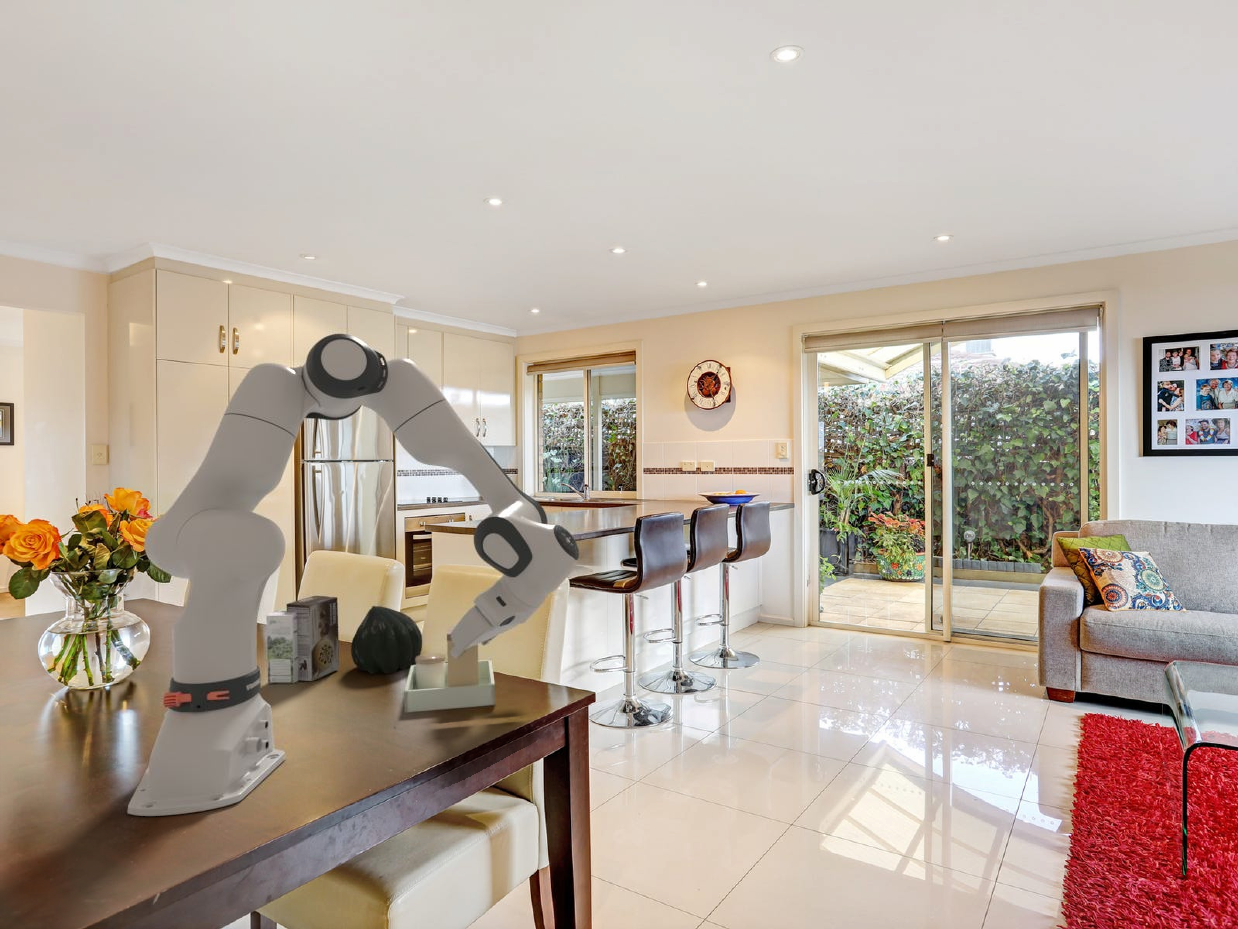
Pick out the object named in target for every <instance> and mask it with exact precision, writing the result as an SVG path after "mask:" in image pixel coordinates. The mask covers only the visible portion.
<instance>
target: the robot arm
mask: <svg viewBox="0 0 1238 929" xmlns="http://www.w3.org/2000/svg"><path fill="white" fill-rule="evenodd" d="M381 359H382V360H383V361H382V360H381ZM361 407H365V408H368V409H370V410H372V411H374V412H375V413H376V414H377V415H378V416H380V418H382V419H383V420H384V422H385V424H386V425H387V427H388V429H389V430H390V431H391V433H392V434H393V435H394V437H395V438H396V440H397V442H398V443H399V445H401V447H402V448H403V449H404V450H405V451H406V452H407V454H409V455H410V456H411V458H413V459H414V460H415V461H416V462H419V463H420V464H423V465H427V466H432V467H433V466H435V467H441V468H445V469H446V468H447V469H450V470H454V471H456V472H457V473H459V474H461V475H462V476H464V477H465V479H466V480H467V481H468V482H469V483H470V484H471V486H473V488H474V489H475V490H476V491H477V493H478V494H479V495H480V496H481V497H482V499H483V500H484V501H485V502H486V503H487V505H488V506H489V507H490V509H491V510H490V511H491V513H490V514H488V516H486V517H485V518H484V519H483V520H481V521H480V522H479V523H478V525H477V526H476V528H475V530H474V533H473V546H474V548H475V552H477V554H478V556H479V557H480V558H481V560H483V562H485V563H486V564H488V565H489V566H491V567H492V568H493V569H495V570H496V571H498V572H499V573H501V574H502V576H501V577H500V578H499V579H498V580H497V581H496V582H494V584H493V585H492V586H491V587H489V588H487V589H486V590H484V591H483V592H481V593H479V594H478V595H476V597H475V598H474V600H473V603H474V605H472V607H471V608H469V609H468V610H467V612H466V613H465V614H464V615H463V617H461V619H460V620H459V621H458V622H457V624H456V625H455V626H454V627H455V628H454V629H453V631H452V632H451V635H450V638H451V640H452V641H453V642H454V644H455V647H454V648H453V649H452V650H451V655H452V656H453V657H454V658H458V657H460V656H462V654H464V653H465V650H466V649H468V648H470V647H472V646H475V645H477V644H478V645H479V644H481V645H482V646H486V645H489V644H490V643H491V642H492V641H493V640H494V639H495V638H496V637H498V636H499V635H501V634H503V633H505V632H507V631H510V630H512V629H514V628H516V627H517V626H519V625H522V624H525V623H526V622H528V620H529V619H531V617H532V616H533V615H534V614H535V613H536V611H538V610H539V609H540V607H541V606H542V605H543V604H544V602H545V600H546V598H547V597H548V595H550V594H551V593H553V592H555V591H556V590H557V589H558V588H559V587H560V586H561V585H562V584H563V582H565V581H566V579H567V578H568V577H569V576H570V574H571V573H572V571H573V570H574V568H575V567H576V566H577V563H578V561H579V557H580V551H579V550H580V549H579V547H578V544H577V540H576V539H575V538H574V537H573V535H572V533H571V532H569V531H568V529H566V528H565V527H563V526H562V525H559V524H548V517H547V512H546V511H545V509H544V507H543V506H542V505H541V504H540V502H538V501H537V500H536V499H534V498H533V497H531V495H528V494H526V493H525V492H524V491H522V490H521V488H519V487H518V485H516V484H515V482H514V481H513V480H512V479H511V478H510V477H509V476H508V474H507V472H505V471H504V469H503V468H502V467H501V466H500V464H499V463H498V462H497V461H496V459H495V458H494V457H493V456H492V455H491V453H490V452H489V450H487V449H486V447H485V446H484V445H483V444H482V442H480V441H479V440H478V438H477V437H476V436H475V435H474V434H473V433H472V432H471V430H469V428H468V427H467V425H465V423H464V421H463V420H462V419H461V418H460V416H459V415H458V413H457V412H456V411H455V409H454V408H453V407H452V405H451V403H450V402H449V401H448V399H447V398H446V397H445V395H444V394H443V392H442V391H441V390H440V389H439V388H438V386H437V385H436V384H435V382H434V381H433V380H432V379H431V378H430V377H429V376H428V375H427V373H425V371H423V370H422V369H421V367H420V366H418V365H417V363H415V362H414V361H412V360H411V359H409V358H402V357H400V358H394V359H393V358H392V359H390V360H388V361H387V360H386V357H385V356H384V355H383V354H382V353H381V352H378V351H377V350H375V349H373V348H371V347H370V346H369V345H368V344H367V343H365V342H364V341H362V340H361V339H359V338H357V337H355V336H354V335H350V334H347V333H346V334H345V333H334V334H330V335H327V336H324V337H322V338H320V339H319V340H318V341H317V342H315V344H314V345H313V346H312V348H310V350H309V352H308V353H307V356H306V360H305V363H304V364H303V365H300V366H298V367H297V366H296V367H291V366H290V367H289V366H287V365H283V364H279V363H275V362H263V363H259V364H257V365H254V366H253V367H252V368H251V369H250V370H249V371H248V373H246V374H245V376H244V377H243V379H242V380H241V382H240V383H239V385H238V386H237V388H236V390H235V391H234V394H233V395H232V397H231V398H230V400H229V402H228V404H227V406H226V408H225V411H224V413H223V416H222V418H221V420H220V422H219V425H218V427H217V430H216V432H215V434H214V437H213V439H212V441H211V443H210V445H209V448H208V450H207V453H206V455H205V457H204V459H203V461H202V463H201V465H200V466H199V468H198V469H197V471H196V472H195V473H194V475H193V476H192V477H191V480H190V481H188V484H187V485H186V486H185V488H184V489H183V490H182V492H181V493H180V495H179V496H177V498H176V500H175V501H174V503H173V504H172V505H171V507H170V508H169V509H168V510H167V511H165V513H164V514H162V515H161V516H159V517H158V518H157V519H156V520H154V522H153V523H151V525H150V526H149V528H148V529H147V531H146V534H145V537H144V550H145V554H146V556H147V558H148V559H149V561H150V562H151V563H152V564H153V565H154V566H155V567H156V568H158V569H159V570H161V571H163V572H164V573H166V574H168V575H170V576H173V577H174V578H179V579H185V580H189V590H188V596H187V599H186V602H185V606H184V609H183V612H182V613H181V615H180V616H179V618H177V619H176V621H175V622H174V624H173V627H172V668H173V669H172V671H173V672H172V673H173V675H172V676H173V677H172V678H171V679H170V682H169V687H168V691H167V692H165V693H164V695H163V699H162V700H163V701H162V703H163V704H162V706H163V707H164V708H166V709H167V708H168V710H167V711H166V712H165V713H164V718H163V720H162V723H161V726H160V728H159V731H158V733H157V736H156V740H155V742H154V745H153V747H152V751H151V753H150V757H149V759H148V767H147V769H146V770H145V772H144V774H143V776H142V778H141V780H140V782H139V784H138V785H137V788H136V789H135V791H134V793H133V796H132V797H131V799H130V801H129V802H128V806H127V814H128V815H133V816H141V817H143V816H145V817H156V816H157V817H158V816H159V817H160V816H172V815H173V816H174V815H181V814H189V813H190V814H191V813H196V812H204V811H207V810H213V809H214V810H215V809H218V808H222V807H226V806H229V805H234V804H235V803H238V802H241V801H242V800H243V799H244V798H246V796H247V795H248V794H250V793H251V792H252V791H254V789H255V788H256V787H257V786H258V785H260V783H262V782H263V780H264V779H266V778H267V777H268V776H269V775H270V774H271V773H272V772H273V771H274V770H275V769H277V767H279V765H281V763H283V762H284V761H285V760H286V753H285V751H284V750H281V749H277V748H275V738H274V726H273V714H272V713H273V712H272V711H273V710H272V706H271V705H270V704H269V703H268V702H267V701H266V700H265V699H263V697H262V695H261V693H260V691H261V689H262V686H261V682H262V674H261V667H260V666H258V665H257V664H258V662H257V661H258V658H257V657H258V655H257V653H258V652H257V651H258V650H257V646H258V645H257V638H258V637H257V636H258V634H257V632H258V630H257V629H258V627H257V626H258V614H259V610H260V606H261V605H260V604H261V601H262V598H263V593H264V591H265V588H266V586H267V583H268V580H269V579H270V577H272V575H273V574H274V573H275V572H276V571H277V570H278V569H279V567H280V566H281V564H282V562H283V560H284V557H285V553H286V541H285V540H286V539H285V535H284V532H283V531H282V529H281V528H280V526H279V525H278V524H277V523H276V522H275V521H273V520H271V519H269V518H267V517H266V516H263V515H261V514H258V513H256V512H254V510H255V509H256V508H257V506H258V505H259V504H260V502H262V500H263V499H264V498H265V497H266V496H268V495H269V494H270V493H272V492H273V491H274V490H275V489H276V488H277V487H278V486H279V484H280V482H281V480H282V477H283V475H284V472H285V471H286V467H287V464H288V462H289V460H290V457H291V454H292V451H293V448H294V446H295V443H296V441H297V438H298V435H299V433H300V430H301V428H302V424H303V422H304V420H305V419H312V420H313V419H315V420H325V421H341V420H345V419H348V418H350V417H352V416H353V415H355V414H356V413H357V412H358V411H360V409H361Z"/></svg>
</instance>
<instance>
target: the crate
mask: <svg viewBox="0 0 1238 929" xmlns="http://www.w3.org/2000/svg"><path fill="white" fill-rule="evenodd" d="M478 674H479V685H469V686H457V687H448V662H445V686H446V687H444V688H432V689H419V690H416V664H410V668H409V671H408V676H407V680H406V684H405V687H404V691H403V692H404V695H403V696H404V697H403V698H404V703H403V704H404V713H415V712H416V713H417V712H429V711H437V710H450V709H451V710H452V709H464V708H474V707H484V706H496V684H495V676H494V669H493V661H492V659H481V660H479V659H478Z"/></svg>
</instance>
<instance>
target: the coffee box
mask: <svg viewBox="0 0 1238 929" xmlns="http://www.w3.org/2000/svg"><path fill="white" fill-rule="evenodd" d="M338 606H339V605H338V597H337V596H326V595H312V596H309V597H305V598H302V599H298V600H296V601H291V602H289V603H286V610H287V612H296V614H297V637H298V680H299V681H305V682H306V681H307V682H314V681H316V680H318V679H320V678H322V677H324V676H327V675H329V674H331V673H333V672H336V671H337V670H340V648H339V647H340V644H339V643H340V642H339V613H338V612H339V608H338Z"/></svg>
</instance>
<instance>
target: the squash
mask: <svg viewBox="0 0 1238 929" xmlns="http://www.w3.org/2000/svg"><path fill="white" fill-rule="evenodd" d="M365 615H366V616H365V617H364V618H363V620H362V622H361V623H360V624H359V626H358V627H357V630H356V632H355V634H354V636H353V638H352V641H351V646H350V655H351V659H352V661H353V663H354V665H355V666H356V667H357V668H358V669H359V670H360V671H363V672H367V673H369V674H371V675H375V674H380V673H384V674H387V675H388V674H394V673H397V671H398V670H404V669H406V668H408V667H409V666H411V665H415V664H416V662H415V658H416V657H417V656H419V655H422V654H421V652H422V648H423V636H422V635H423V634H422V632H421V630H420V628H419V626H418V624H417V623H416V622H415V620H413V619H412V618H411V617H410V616H409V615H407V614H405V613H404V612H402V611H401V612H400V611H397V610H395V609H392V608H389V607H385V606H380V605H378V606H376V605H372V606H371V608H370V609H369V610H368V612H367V613H366V614H365Z"/></svg>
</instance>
